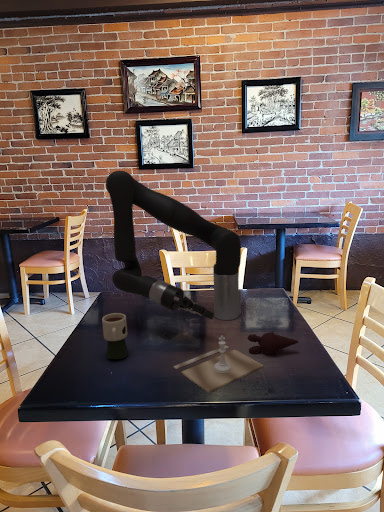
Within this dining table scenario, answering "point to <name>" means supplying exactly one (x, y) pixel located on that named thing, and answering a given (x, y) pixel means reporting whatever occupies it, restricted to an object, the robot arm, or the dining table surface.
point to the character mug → (115, 335)
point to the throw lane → (215, 380)
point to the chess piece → (222, 359)
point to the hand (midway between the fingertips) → (209, 314)
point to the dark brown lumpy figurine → (270, 343)
